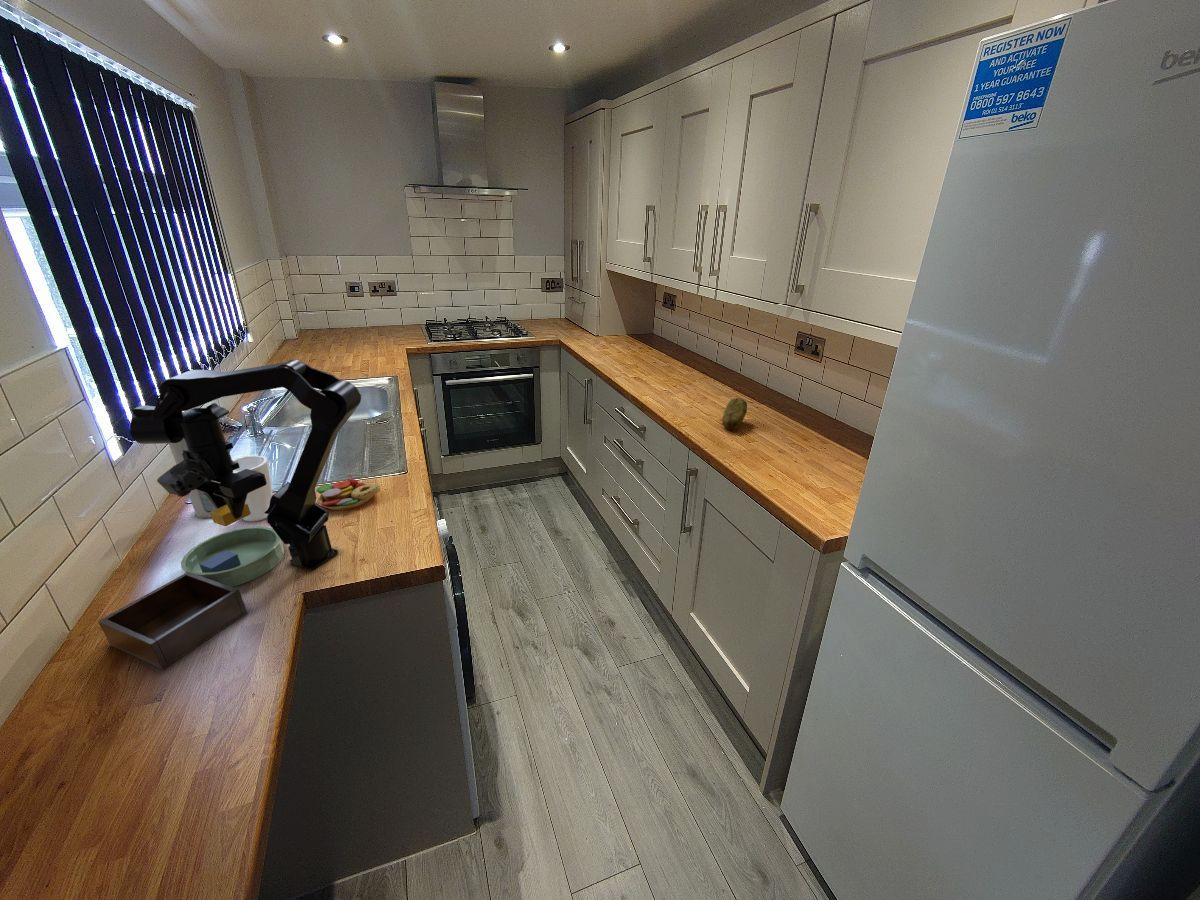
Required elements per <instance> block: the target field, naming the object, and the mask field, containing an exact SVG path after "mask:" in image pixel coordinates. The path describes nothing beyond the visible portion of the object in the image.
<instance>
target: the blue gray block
mask: <svg viewBox="0 0 1200 900" xmlns="http://www.w3.org/2000/svg"><path fill="white" fill-rule="evenodd" d="M240 564H241V563H240V560H239V558H238V555H237V554H235V553H232V552H229V551H226V550H225V551H223V552H221V553H219V554H217V555H216V556H214V557H212V558H210V559H208V560H206V561H205V562H203V563H201V564H199V565H200V567H201V570H202V572H203V573H209V572H219V571H224V570H228V569H232V568H235V567H237V566H239V565H240Z"/></svg>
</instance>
